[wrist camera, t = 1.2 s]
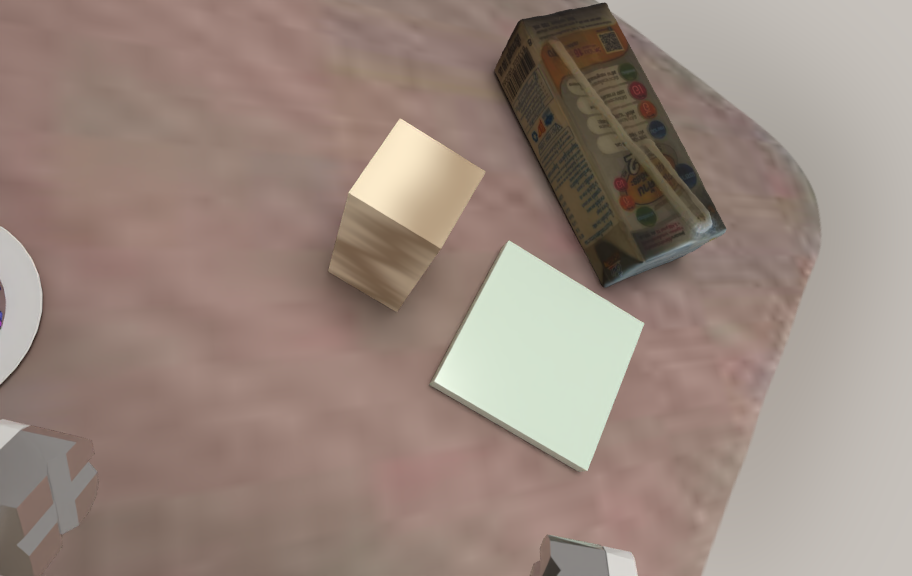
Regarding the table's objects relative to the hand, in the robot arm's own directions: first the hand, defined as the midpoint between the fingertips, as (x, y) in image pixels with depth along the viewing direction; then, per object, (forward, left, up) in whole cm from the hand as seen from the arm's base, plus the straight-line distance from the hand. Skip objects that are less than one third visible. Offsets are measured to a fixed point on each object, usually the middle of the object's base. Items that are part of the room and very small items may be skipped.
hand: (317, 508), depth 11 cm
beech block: (-2, +15, -25) cm, 30 cm away
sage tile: (+10, +15, -25) cm, 31 cm away
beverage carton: (+7, +31, -26) cm, 41 cm away
